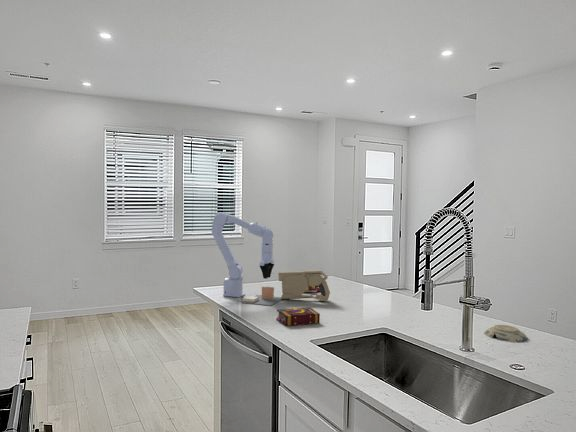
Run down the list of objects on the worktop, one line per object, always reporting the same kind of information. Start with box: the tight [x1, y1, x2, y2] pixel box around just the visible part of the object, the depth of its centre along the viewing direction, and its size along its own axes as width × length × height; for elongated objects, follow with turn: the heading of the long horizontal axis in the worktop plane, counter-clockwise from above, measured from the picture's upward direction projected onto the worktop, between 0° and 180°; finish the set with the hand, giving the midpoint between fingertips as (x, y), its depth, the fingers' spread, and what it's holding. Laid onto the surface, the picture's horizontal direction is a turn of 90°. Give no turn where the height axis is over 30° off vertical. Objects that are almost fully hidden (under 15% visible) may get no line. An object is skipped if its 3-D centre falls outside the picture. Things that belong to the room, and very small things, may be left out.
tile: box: [261, 285, 275, 300], centre depth 223 cm, size 6×2×6 cm, turn 70°
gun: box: [277, 269, 331, 303], centre depth 223 cm, size 25×3×16 cm, turn 84°
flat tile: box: [242, 295, 259, 303], centre depth 218 cm, size 6×6×2 cm
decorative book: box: [275, 306, 321, 327], centre depth 184 cm, size 11×16×5 cm
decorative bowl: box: [483, 324, 529, 343], centre depth 169 cm, size 15×4×15 cm
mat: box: [242, 294, 283, 307], centre depth 221 cm, size 15×18×1 cm
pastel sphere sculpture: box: [303, 285, 320, 293], centre depth 252 cm, size 25×24×9 cm
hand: (266, 277), depth 232 cm, fingers open, 3 cm apart
